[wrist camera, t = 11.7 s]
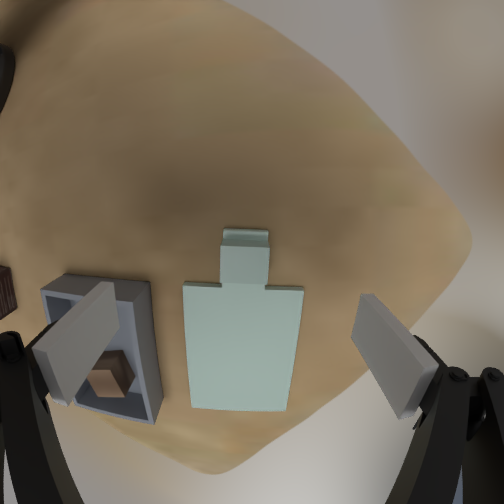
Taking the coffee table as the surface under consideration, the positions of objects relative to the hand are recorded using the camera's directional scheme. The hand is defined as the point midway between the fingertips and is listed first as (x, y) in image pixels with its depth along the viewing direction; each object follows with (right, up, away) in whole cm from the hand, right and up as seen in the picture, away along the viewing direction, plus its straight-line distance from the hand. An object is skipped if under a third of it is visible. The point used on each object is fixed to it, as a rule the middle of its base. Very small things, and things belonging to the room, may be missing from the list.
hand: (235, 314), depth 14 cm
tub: (-15, -7, +15) cm, 23 cm away
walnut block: (-16, -10, +15) cm, 24 cm away
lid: (0, -5, +15) cm, 16 cm away
